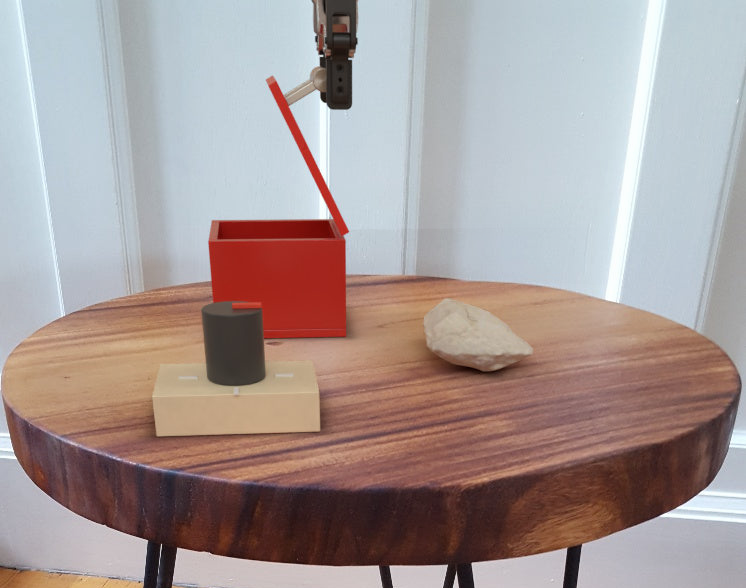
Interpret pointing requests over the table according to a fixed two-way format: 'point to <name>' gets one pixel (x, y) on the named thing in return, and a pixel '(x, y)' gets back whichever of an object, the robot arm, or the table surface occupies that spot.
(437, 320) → the stone
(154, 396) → the panel
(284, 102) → the box lid
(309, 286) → the red open box
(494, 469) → the table surface
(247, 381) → the valve knob
